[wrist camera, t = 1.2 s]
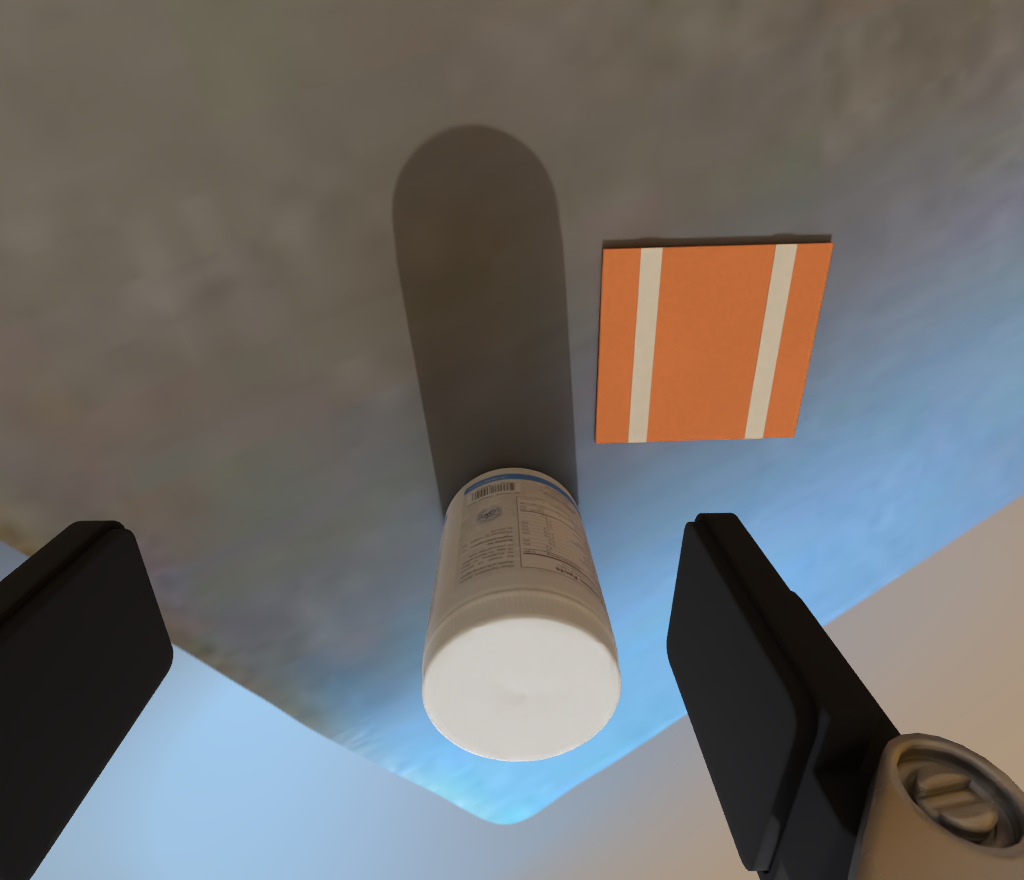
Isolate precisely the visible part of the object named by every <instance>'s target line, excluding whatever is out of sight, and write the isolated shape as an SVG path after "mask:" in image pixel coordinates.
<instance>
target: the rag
mask: <svg viewBox="0 0 1024 880" xmlns="http://www.w3.org/2000/svg"><path fill="white" fill-rule="evenodd" d="M833 244H834V243H831V242H829V243H792V244H756V245H719V246H682V247H646V248H609V249H603V261H602V284H601V308H600V332H599V355H598V379H597V402H596V426H595V443H620V442H628V443H638V442H651V441H683V440H714V439H763V438H777V437H794V435H795V430H796V425H797V420H798V415H799V410H800V405H801V400H802V396H803V391H804V386H805V381H806V376H807V371H808V366H809V361H810V357H811V352H812V347H813V342H814V337H815V332H816V327H817V322H818V318H819V313H820V308H821V303H822V298H823V293H824V288H825V283H826V279H827V274H828V269H829V264H830V259H831V254H832V249H833Z"/></svg>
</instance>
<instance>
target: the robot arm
mask: <svg viewBox="0 0 1024 880" xmlns="http://www.w3.org/2000/svg"><path fill="white" fill-rule="evenodd" d="M667 654H668V659H669V663H670V665H671V668H672V671H673V674H674V676H675V679H676V682H677V685H678V688H679V690H680V693H681V696H682V699H683V701H684V704H685V707H686V710H687V712H688V715H689V718H690V720H691V723H692V726H693V729H694V732H695V734H696V737H697V740H698V743H699V746H700V748H701V751H702V754H703V757H704V759H705V762H706V765H707V768H708V770H709V773H710V775H711V779H712V781H713V784H714V787H715V790H716V792H717V795H718V798H719V801H720V803H721V806H722V809H723V812H724V815H725V817H726V820H727V822H728V825H729V828H730V831H731V834H732V837H733V839H734V842H735V845H736V848H737V850H738V853H739V856H740V858H741V861H742V863H743V865H744V866H745V868H746V869H747V870H748V871H757V873H758V876H759V878H760V880H1024V792H1023V791H1022V790H1021V789H1020V788H1019V787H1018V786H1017V785H1016V784H1015V783H1014V782H1013V781H1012V780H1011V779H1010V778H1009V777H1008V775H1006V774H1005V773H1004V772H1002V771H1001V770H1000V769H999V768H997V767H996V766H995V765H993V764H992V763H991V762H989V761H988V760H987V759H986V758H984V757H982V756H980V755H979V754H977V753H975V752H973V751H971V750H970V749H968V748H966V747H964V746H963V745H960V744H958V743H955V742H952V741H950V740H947V739H944V738H941V737H939V736H933V735H927V734H921V733H913V734H903V735H901V734H900V733H899V732H898V730H897V729H896V728H895V726H894V725H893V724H892V722H891V721H890V720H889V718H888V717H887V715H886V714H885V713H884V712H883V710H882V709H881V707H880V706H879V704H878V703H877V702H876V700H875V699H874V698H873V696H872V695H871V694H870V692H869V691H868V689H867V688H866V687H865V685H864V684H863V683H862V681H861V680H860V679H859V677H858V676H857V674H856V673H855V672H854V670H853V669H852V668H851V666H850V665H849V664H848V662H847V661H846V659H845V658H844V657H843V655H842V654H841V653H840V651H839V650H838V648H837V647H836V646H835V644H834V643H833V642H832V640H831V639H830V638H829V636H828V635H827V634H826V632H825V631H824V629H823V628H822V627H821V625H820V624H819V623H818V621H817V620H816V618H815V617H814V616H813V614H812V613H811V612H810V610H809V609H808V608H807V606H806V605H805V603H804V602H803V601H802V599H801V598H800V597H799V596H798V595H797V594H796V593H795V592H793V591H790V589H789V588H788V586H787V585H786V584H785V582H784V581H783V580H782V578H781V577H780V575H779V574H778V573H777V571H776V570H775V568H774V567H773V566H772V564H771V563H770V562H769V560H768V559H767V557H766V556H765V555H764V553H763V552H762V550H761V549H760V548H759V546H758V545H757V543H756V542H755V541H754V539H753V538H752V537H751V535H750V534H749V532H748V531H747V530H746V528H745V527H744V525H743V524H742V523H741V521H740V520H739V519H738V517H737V516H736V515H735V514H733V513H700V514H698V515H697V517H696V519H695V522H688V523H687V524H686V526H685V529H684V535H683V541H682V547H681V554H680V560H679V566H678V572H677V579H676V585H675V591H674V597H673V604H672V610H671V616H670V622H669V629H668V635H667ZM172 660H173V648H172V645H171V642H170V639H169V636H168V633H167V630H166V627H165V624H164V621H163V618H162V615H161V612H160V609H159V606H158V604H157V601H156V598H155V595H154V592H153V589H152V586H151V583H150V580H149V577H148V574H147V571H146V568H145V565H144V562H143V559H142V556H141V553H140V551H139V548H138V545H137V542H136V539H135V536H134V534H133V533H132V532H131V531H130V530H128V529H125V528H124V526H123V525H122V524H121V523H120V522H117V521H78V522H75V523H73V524H71V525H70V526H68V527H67V528H66V529H65V530H63V531H62V532H61V533H60V534H58V535H57V536H56V537H55V538H53V539H52V540H51V541H50V542H49V543H47V544H46V545H45V546H44V547H42V548H41V549H40V550H39V551H37V552H36V553H35V554H34V555H32V556H31V557H30V558H29V559H28V560H26V561H25V562H24V563H23V564H21V565H20V566H19V567H18V568H16V569H15V570H14V571H13V572H12V573H10V574H9V575H8V576H7V577H5V578H4V579H3V580H2V581H1V582H0V880H30V878H31V877H32V876H33V874H34V873H35V871H36V870H37V868H38V867H39V865H40V864H41V862H42V861H43V859H44V858H45V856H46V855H47V853H48V852H49V850H50V849H51V847H52V846H53V844H54V843H55V841H56V840H57V838H58V837H59V835H60V834H61V832H62V831H63V829H64V828H65V826H66V825H67V823H68V822H69V820H70V819H71V817H72V816H73V814H74V813H75V811H76V810H77V808H78V807H79V805H80V804H81V802H82V801H83V799H84V798H85V796H86V795H87V793H88V792H89V790H90V788H91V787H92V786H93V784H94V783H95V781H96V780H97V778H98V777H99V775H100V774H101V772H102V771H103V769H104V768H105V766H106V765H107V763H108V762H109V760H110V759H111V757H112V755H113V754H114V753H115V751H116V750H117V748H118V746H119V745H120V744H121V742H122V741H123V739H124V738H125V736H126V735H127V733H128V732H129V730H130V729H131V727H132V726H133V724H134V722H135V721H136V720H137V718H138V716H139V715H140V713H141V712H142V711H143V709H144V708H145V706H146V704H147V703H148V701H149V700H150V698H151V697H152V695H153V694H154V693H155V691H156V689H157V688H158V687H159V685H160V684H161V682H162V681H163V679H164V677H165V676H166V675H167V673H168V671H169V669H170V667H171V664H172Z"/></svg>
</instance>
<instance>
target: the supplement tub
mask: <svg viewBox="0 0 1024 880" xmlns="http://www.w3.org/2000/svg"><path fill="white" fill-rule="evenodd" d="M422 674H423V680H422V697H423V703H424V707H425V709H426V712H427V714H428V716H429V718H430V720H431V722H432V723H433V724H434V726H435V727H436V728H437V729H438V730H439V732H440V733H441V734H442V735H443V736H445V737H446V738H447V739H448V740H450V741H451V742H452V743H454V744H455V745H457V746H459V747H461V748H463V749H464V750H467V751H469V752H471V753H473V754H476V755H479V756H482V757H485V758H490V759H495V760H502V761H534V760H541V759H546V758H550V757H554V756H557V755H560V754H563V753H566V752H568V751H570V750H573V749H575V748H577V747H578V746H580V745H582V744H584V743H585V742H587V741H588V740H589V739H591V738H592V737H593V736H595V735H596V734H597V733H598V732H599V731H600V730H601V729H602V728H603V727H604V726H605V725H606V723H607V722H608V721H609V719H610V718H611V716H612V715H613V713H614V711H615V709H616V707H617V704H618V701H619V697H620V692H621V675H620V670H619V665H618V652H617V648H616V644H615V640H614V636H613V632H612V628H611V624H610V620H609V617H608V613H607V609H606V606H605V602H604V598H603V595H602V591H601V587H600V584H599V580H598V577H597V573H596V569H595V566H594V562H593V559H592V555H591V552H590V548H589V544H588V541H587V537H586V533H585V530H584V526H583V523H582V519H581V516H580V513H579V510H578V507H577V505H576V503H575V501H574V499H573V497H572V496H571V495H570V493H569V492H568V491H567V490H566V489H565V488H564V487H563V486H562V485H561V484H560V483H559V482H557V481H556V480H554V479H553V478H551V477H549V476H547V475H545V474H543V473H541V472H538V471H534V470H530V469H525V468H503V469H497V470H493V471H490V472H487V473H484V474H482V475H480V476H478V477H476V478H474V479H473V480H471V481H470V482H468V483H467V484H466V485H465V486H464V487H462V488H461V489H460V491H459V492H458V493H457V494H456V495H455V497H454V498H453V500H452V501H451V503H450V505H449V507H448V510H447V512H446V516H445V520H444V525H443V530H442V537H441V543H440V550H439V556H438V563H437V570H436V576H435V582H434V588H433V594H432V601H431V608H430V614H429V620H428V626H427V632H426V640H425V647H424V656H423V661H422Z"/></svg>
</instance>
